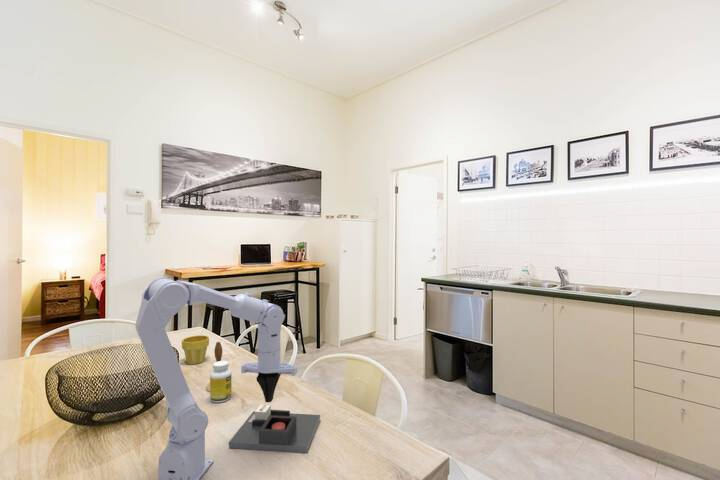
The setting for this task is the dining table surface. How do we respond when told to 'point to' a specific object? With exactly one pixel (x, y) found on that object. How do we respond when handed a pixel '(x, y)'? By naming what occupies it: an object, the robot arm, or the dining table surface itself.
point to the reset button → (278, 426)
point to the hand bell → (218, 357)
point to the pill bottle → (220, 382)
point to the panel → (277, 432)
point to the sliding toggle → (263, 412)
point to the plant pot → (195, 348)
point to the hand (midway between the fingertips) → (269, 400)
